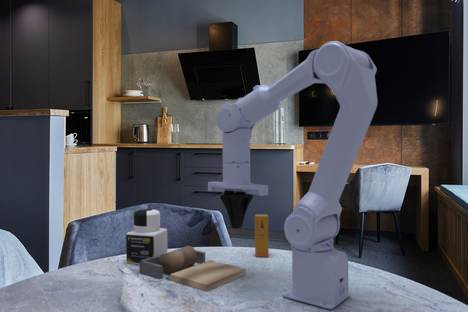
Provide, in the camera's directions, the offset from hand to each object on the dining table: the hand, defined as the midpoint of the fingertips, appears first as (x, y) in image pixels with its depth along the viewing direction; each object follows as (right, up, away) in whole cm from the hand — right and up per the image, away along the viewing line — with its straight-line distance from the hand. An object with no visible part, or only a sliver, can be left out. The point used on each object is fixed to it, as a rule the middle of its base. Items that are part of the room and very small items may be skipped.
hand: (236, 227), depth 83 cm
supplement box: (+6, -10, +15) cm, 19 cm away
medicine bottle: (-21, -10, +11) cm, 26 cm away
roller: (-13, -8, +4) cm, 16 cm away
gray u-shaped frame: (-14, -10, +5) cm, 18 cm away
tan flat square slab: (-6, -10, -1) cm, 12 cm away
